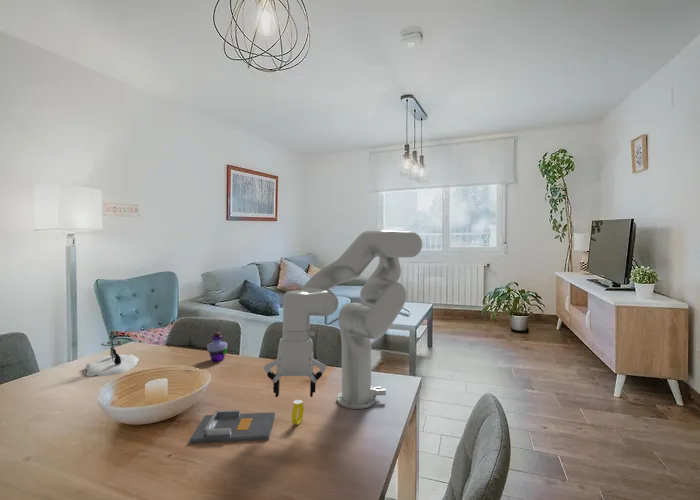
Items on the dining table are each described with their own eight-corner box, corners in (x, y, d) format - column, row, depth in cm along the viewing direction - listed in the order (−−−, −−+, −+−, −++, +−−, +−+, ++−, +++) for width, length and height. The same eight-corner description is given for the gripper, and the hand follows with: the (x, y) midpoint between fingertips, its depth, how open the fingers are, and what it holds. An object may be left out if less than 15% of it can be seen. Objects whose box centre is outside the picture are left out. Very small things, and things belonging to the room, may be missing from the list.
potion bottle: (226, 362, 149) (226, 334, 148) (205, 364, 147) (204, 335, 147) (229, 356, 157) (228, 329, 157) (208, 357, 156) (208, 330, 155)
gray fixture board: (274, 416, 104) (274, 407, 104) (268, 439, 92) (268, 429, 92) (205, 419, 103) (205, 410, 103) (190, 443, 91) (189, 433, 91)
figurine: (91, 360, 150) (89, 323, 148) (140, 355, 157) (140, 319, 155) (78, 382, 132) (76, 341, 130) (134, 375, 139) (133, 335, 137)
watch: (298, 428, 98) (298, 407, 97) (289, 427, 98) (289, 406, 98) (306, 417, 103) (305, 397, 103) (297, 416, 104) (296, 396, 104)
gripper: (326, 331, 104) (324, 389, 104) (267, 331, 103) (265, 389, 103) (326, 338, 97) (325, 400, 97) (262, 338, 95) (261, 401, 95)
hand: (294, 395), depth 100 cm, fingers open, 9 cm apart
